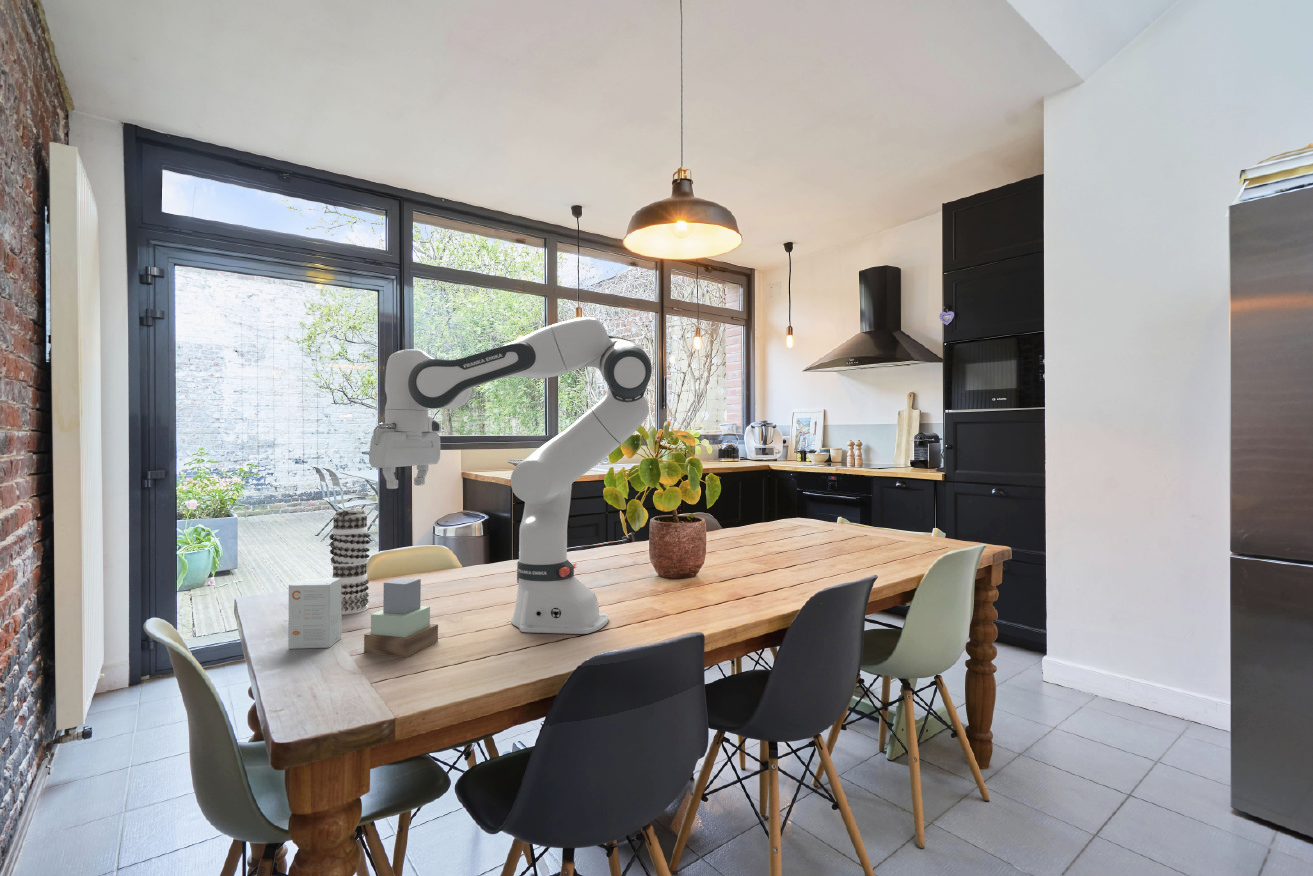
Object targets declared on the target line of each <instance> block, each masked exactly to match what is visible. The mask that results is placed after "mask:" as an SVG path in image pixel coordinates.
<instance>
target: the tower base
mask: <svg viewBox="0 0 1313 876" xmlns="http://www.w3.org/2000/svg"><path fill="white" fill-rule="evenodd" d="M437 642H439V624H438V623H430V626H428V627H426V628H424V629H422V630H420V631H418V632H416V633H414V634H412V635H410V636H408V637H406V638H405V637H395V636H384V635H373V634H371V631H369V632H367V633H364V635H363V653H366V654H375V655H382V656H384V655H385V656H393V657H398V658H399V657H401V658H402V657H403V658H409V657H411V656H413V655H414V654H417V653H418V652H420V651H422V650H424V649H426V648H427V647H428V648H429V647H430V646H432V645H433V644H435V643H437Z"/></svg>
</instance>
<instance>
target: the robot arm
mask: <svg viewBox="0 0 1313 876" xmlns="http://www.w3.org/2000/svg"><path fill="white" fill-rule="evenodd" d="M586 367H591V368H596V369H598V370H599V371H600V374H601V377H602V378H603V379H604V381H605V382H606V384H607V386H608V388H607V391H606V393H605V395H604V396H603V397H602V398H601V399H600V401H598V402H596V403H595V404H594V405H593V406H592V407H591V408H589V409H588V410H587V411H586V412H584V414H582V415H581V416H580V417H578V418H577V419H576V420H575V421H574V422H573V423H572V424H570V425H569V426H568V427H566V428H565V429H564V430H563V431H561V432H560V433H558V434H557V435H555V436H554V437H553V438H551V439H550V440H548V441H547V442H545V443H544V444H542V445H541V446H540V447H538V448H536V450H535V451H533V452H531V453H530V454H529V455H528V456H527V457H526V458H524V459H523V460H522V461H520V462H519V463H518V464H517V465H516V466H515V468H514V469H513V471H512V472H511V475H510V487H511V490H512V492H513V493H514V495H515V496H516V498H518V499H519V500H520V501H523V502H524V508H523V514H522V519H521V522H520V524H519V539H518V541H519V545H518V547H519V548H518V550H519V551H518V559H519V560H518V561H517V562H516V563H517V564H516V565H517V566H516V568H517V569H516V582H517V595H516V602H515V607H514V612H513V615H512V618H511V620H510V621H511V624H512V625H514V626H515V627H517V628H518V629H519V631H520V632H522V633H536V634H537V633H539V634H540V633H541V634H569V635H570V634H573V635H574V634H575V635H586V634H591V633H593V632H594V633H595V632H597V631H598V630H600V629H602V628H604V626H606V625H607V623H608V622H609V615H608V613H605V612H600V607H599V601H598V597H597V595H596V593H595V592H594V591H592V590H591V589H590V588H589V587H588V586H586V585H585V584H584V583H582V581H580V580H579V579H578V578H577V577H575V576H574V575H575V569H576V568H577V562H576V563H573V564H572V562H570V561H569V560H568V559H567V558H568V555H567V554H568V521H569V515H570V508H571V507H570V506H571V500H572V498H571V497H572V488H573V485H572V484H573V483H574V482H575V481H577V480H579V478H581V477H583V475H585V474H586V473H588V472H589V471H590V470H591V469H593V468H594V467H596V466H597V465H598V464H600V462H602V461H604V459H605V458H607V457H608V456H609V455H611V453H613V452H614V451H615V450H616V449H617V448H619V447H620V446H621V445H623V443H625V442H626V441H627V440H628V439H629V438H630V437H631V436H632V435H633V434H634V433H635V432H637V430H638V429H639V428H640V427H641V426H642V425H643V423H644V422H645V420H647V418H648V416H649V413H650V407H649V403H648V401H647V398H646V397H645V393H646V391H647V388H648V385H649V382H650V380H651V377H652V373H653V372H652V371H653V366H652V361H651V359H650V357H649V356H648V354H647V353H646V351H645V350H644V349H643V348H642V346H640V345H639V344H638V343H635V342H634V341H632V340H629V339H627V338H624V337H618V336H613V335H612V336H611V335H608V331H607V330H606V328H605V326H604V324H603V323H602V322H601V321H600V320H598V319H597V318H596V317H591V316H586V317H579V318H573V319H569V320H564V321H560V322H558V323H553V324H551V325H548V326H545V327H542V328H540V329H538V330H535V331H533V332H531V333H528V334H526V335H524V336H522V337H520V338H517V339H515V340H513V341H511V342H508V343H507V344H503V345H501V346H497V347H496V348H495V347H494V348H492V349H489V350H485V351H482V352H478V353H475V354H472V355H468V356H465V357H461V358H458V359H457V358H456V359H441V358H434V357H432V356H430V355H429V354H428V353H426V351H424V350H422V349H416V348H414V349H401V350H397V351H396V352H393V353H392V354H390V356H389V357H388V359H387V362H386V367H385V368H386V369H385V377H384V378H385V380H384V391H385V394H386V403H385V407H384V422H380V423H378V424H377V425H376V426H375V427H374V429H373V431H372V433H373V434H372V436H371V439H370V444H369V445H370V446H369V452H368V453H369V454H368V464H369V465H370V466H371V468H373V469H374V468H376V469H377V468H379V469H382V474H383V476H384V479H385V481H386V488H387V489H389V490H394V489H398V488H399V480H398V479H396V476H395V473H396V468H399V467H402V468H403V467H412V466H413V467H415V466H416V470H417V473H416V477H413V481H414V482H413V484H414V486H424V485H425V484H426V479H425V478H426V476H427V473H428V472H429V466H430V465H438V463H439V461H440V459H441V437H440V434H439V433H440V432H441V431H442V424H441V423H440V422H439V421H437V420H435V419H434V418H432V417H431V416H429V409H434V410H435V409H440V410H456V409H460V408H461V407H464V406H465V405H466V404H468V402H469V401H470V400H471V398H472V396H473V391H474V388H475V387H479V386H481V385H485V384H488V383H490V382H494V381H497V380H500V379H504V378H511V377H513V378H514V377H519V378H529V379H536V380H541V379H542V380H543V379H549V378H552V377H554V378H555V377H558V376H561V375H565V374H568V373H570V372H573V371H576V370H579V369H580V368H581V369H582V368H586Z"/></svg>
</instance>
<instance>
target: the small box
mask: <svg viewBox="0 0 1313 876" xmlns="http://www.w3.org/2000/svg"><path fill="white" fill-rule="evenodd" d="M342 618H343V617H342V613H341V578H332V577H329V578H327V577H326V578H302V579H301V578H300V580H297V581H295V582H293V583H290V584H289V585H288V624H287V625H288V640H287V641H288V649H289V650H292V649H293V650H296V649H321V648H324V649H325V648H326V649H329V648H331V647H332V646H333V645H335V644H336V643H337V642H338V641H339V640H341V639H342Z"/></svg>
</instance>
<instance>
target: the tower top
mask: <svg viewBox="0 0 1313 876" xmlns="http://www.w3.org/2000/svg"><path fill="white" fill-rule="evenodd" d="M430 624H431V606H428V605H426V606H424V605H420V608H419V609H417V610H414V611H412V612H409V613H407V614H395V613H383V609H381V610H378V611H376V612H373V613H370V632H371V634H373V635H384V636H395V637H405V638H406V637H408V636H410V635H412V634H414V633H416V632H418V631H420V630H422V629H424V628H426V627H428V626H430Z"/></svg>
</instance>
